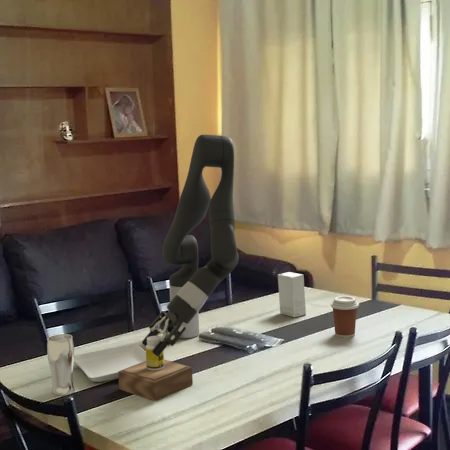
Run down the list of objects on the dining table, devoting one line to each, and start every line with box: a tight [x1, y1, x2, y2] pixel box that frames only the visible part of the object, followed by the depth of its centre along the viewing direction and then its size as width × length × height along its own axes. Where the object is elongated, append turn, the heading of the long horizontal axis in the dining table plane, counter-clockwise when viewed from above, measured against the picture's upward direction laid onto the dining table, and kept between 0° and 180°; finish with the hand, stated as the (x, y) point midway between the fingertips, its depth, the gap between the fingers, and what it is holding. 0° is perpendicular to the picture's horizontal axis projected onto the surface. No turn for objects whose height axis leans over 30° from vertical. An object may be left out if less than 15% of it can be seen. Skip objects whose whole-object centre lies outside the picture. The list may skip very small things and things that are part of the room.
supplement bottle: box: [145, 335, 165, 371], centre depth 197 cm, size 5×5×8 cm
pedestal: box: [118, 359, 194, 402], centre depth 198 cm, size 14×14×5 cm
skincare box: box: [277, 271, 307, 318], centre depth 264 cm, size 8×6×15 cm
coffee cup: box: [330, 295, 360, 338], centre depth 238 cm, size 9×9×12 cm
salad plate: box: [74, 343, 146, 383], centre depth 213 cm, size 21×21×3 cm
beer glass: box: [46, 333, 76, 397], centre depth 196 cm, size 7×7×15 cm
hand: (149, 349), depth 196 cm, fingers open, 8 cm apart
